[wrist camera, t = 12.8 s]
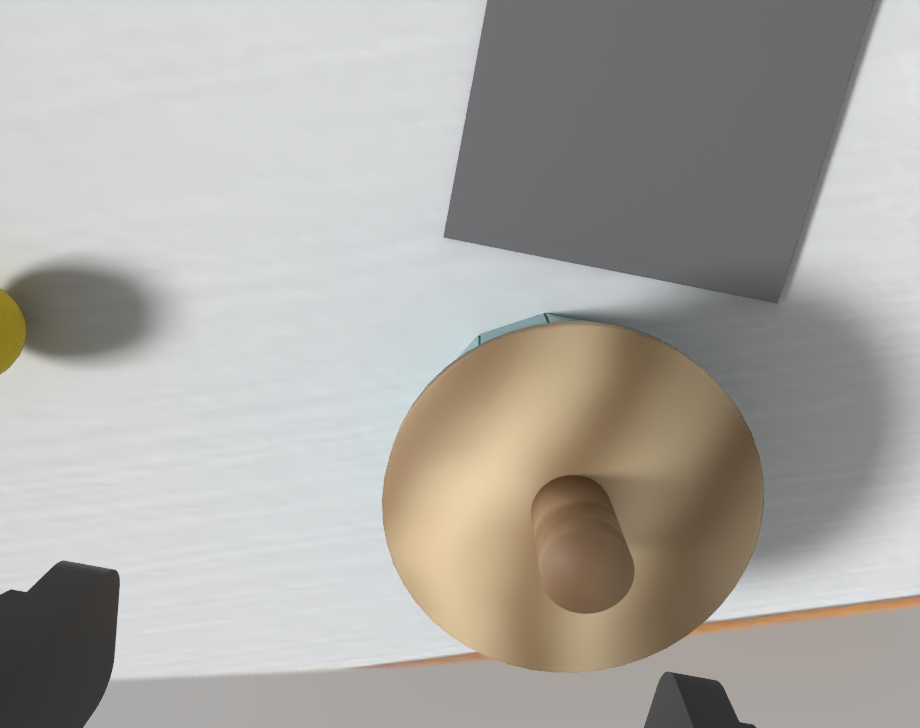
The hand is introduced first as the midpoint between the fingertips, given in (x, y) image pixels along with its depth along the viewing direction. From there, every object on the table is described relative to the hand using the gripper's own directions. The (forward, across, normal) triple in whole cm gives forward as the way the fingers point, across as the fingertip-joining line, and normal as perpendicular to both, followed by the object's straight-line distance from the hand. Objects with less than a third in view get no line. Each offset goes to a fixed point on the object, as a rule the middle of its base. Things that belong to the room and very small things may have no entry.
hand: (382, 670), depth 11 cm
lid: (+22, -7, +7) cm, 24 cm away
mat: (+30, -8, -12) cm, 33 cm away
